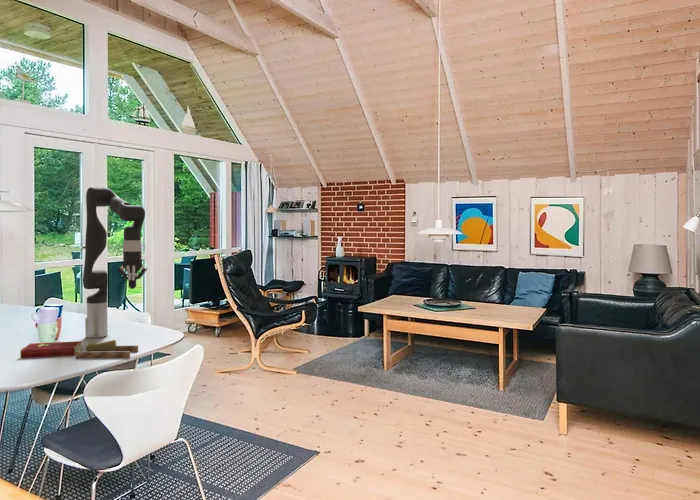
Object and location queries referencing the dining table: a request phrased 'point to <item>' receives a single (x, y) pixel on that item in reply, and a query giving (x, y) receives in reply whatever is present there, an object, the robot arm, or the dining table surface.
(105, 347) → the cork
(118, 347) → the brown flat piece
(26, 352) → the hardcover book
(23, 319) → the dining table surface
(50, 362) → the dining table surface
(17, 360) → the dining table surface
